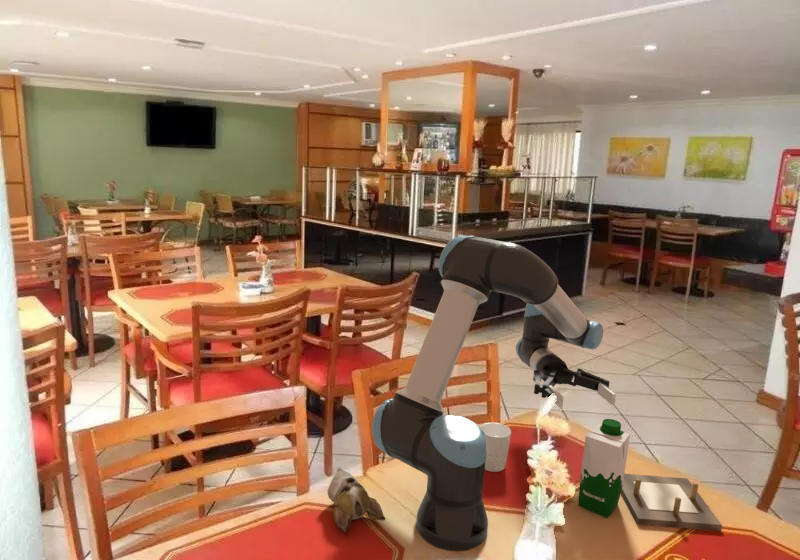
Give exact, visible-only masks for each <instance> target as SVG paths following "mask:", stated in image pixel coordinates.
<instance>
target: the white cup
mask: <svg viewBox="0 0 800 560" xmlns="http://www.w3.org/2000/svg"><path fill="white" fill-rule="evenodd" d="M479 427H480V428H481V429H482V430H483V432H484V434H485V437H486V450H487V457H486V461H485V471H488V472H493V473H497V472H501V471H503V470H505V468H506V465H507V458H508V455H509V450H510V443H511V435H512V429H511V428H510V427H509V426H508V425H505V424H503V423H499V422H491V421H490V422H484V423H482V424H481V425H479Z"/></svg>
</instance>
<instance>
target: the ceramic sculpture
mask: <svg viewBox="0 0 800 560" xmlns="http://www.w3.org/2000/svg"><path fill="white" fill-rule="evenodd" d="M327 495H328V496H327V497H328V498H329V500H330V501H331V502H332V503H334V504H335V507H334V508H333V511H332V514H333V520H334V522H335V524H336V527H337V528H338V529H339V530H341V531H342V532H343V533H346V532H347V530H348V529H349V528H350V527H351V524H352V521H354V520H358V519H360V518H362V517H364V516H365V514H366V513H367V516H368V518H369V519H372V520H376V521H386V517H385V515H384V513H383V510H382V507H381V505H380V503H379V502H378V501H377V499H375V498H373V497H371V496H370V495H369V493H368V492H367V490H366V488H365V487H364V486H363V485H362V484H361V483H360V482H359V481H358V479H357V478H356V477H354V476H353V475H352V474H351V473H350V472H348V471H346V470H344V469H342V468H341V467H338V468H337V470H336V472H335V474H334V475H333V477H332V479H331V481H330V483H329V487H328V489H327Z"/></svg>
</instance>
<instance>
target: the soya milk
mask: <svg viewBox="0 0 800 560" xmlns="http://www.w3.org/2000/svg"><path fill="white" fill-rule="evenodd" d="M621 429H622V424H621V422H620V421H618V420H616V419H613V418H604V419H603V420H602V422H601V424H600V423H596V424H595V425H594V426H592V427H591V429H589V431H588V432H587V434H586V435H585V436H584V437H585V440H584V449H583V455H582V462H581V463H582V464H581V471H580V479H579V488H578V489H579V490H578V498H577V499H578V500H577V501H578V502H577V507H579V508H582V509H584V510H587V511H588V512H591V513H594V514H596V515H599V516H601V517H604V518H605V519H609V518H610V516H611V515H612V513H613V512H614V511H615V509H616V507H617V506H618V504H619V501H620V497H621V496H622V494H621V491H622V486H623V479H624V474H626V471H625V470H626V466H627V459H628V451H629V445H630V444H629V443H630V436H631V434H630V433H627V432H625V431H623V430H621Z"/></svg>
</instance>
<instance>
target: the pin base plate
mask: <svg viewBox="0 0 800 560" xmlns="http://www.w3.org/2000/svg"><path fill="white" fill-rule="evenodd" d="M698 489H699V484H698V483H697V482H691V481H690V480H689V479H688V478H685V477H673V476H660V475H646V474H645V475H644V474H635V473H634V474H631V473H624V479H623V486H622V491H621V496H622V499H623V501H624V502H625V504H626V506H627V507H628V510H629V511H630V513H631V516H632V517H633V519H634V520H635V523H636V525H641V526H653V527H665V528H678V529H692V530H703V531H704V530H705V531H715V530H719V531H718V532H722V528H723V524H722V523H721V521H720V520H719V518H718V517H717V516H716V515H715V513H714V512H713V511H712V509H711V508H710V507H709V505H708V504H707V503H706V501H705V499H704V498H703V497H702V496H701V495H700V494H699V491H698Z"/></svg>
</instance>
